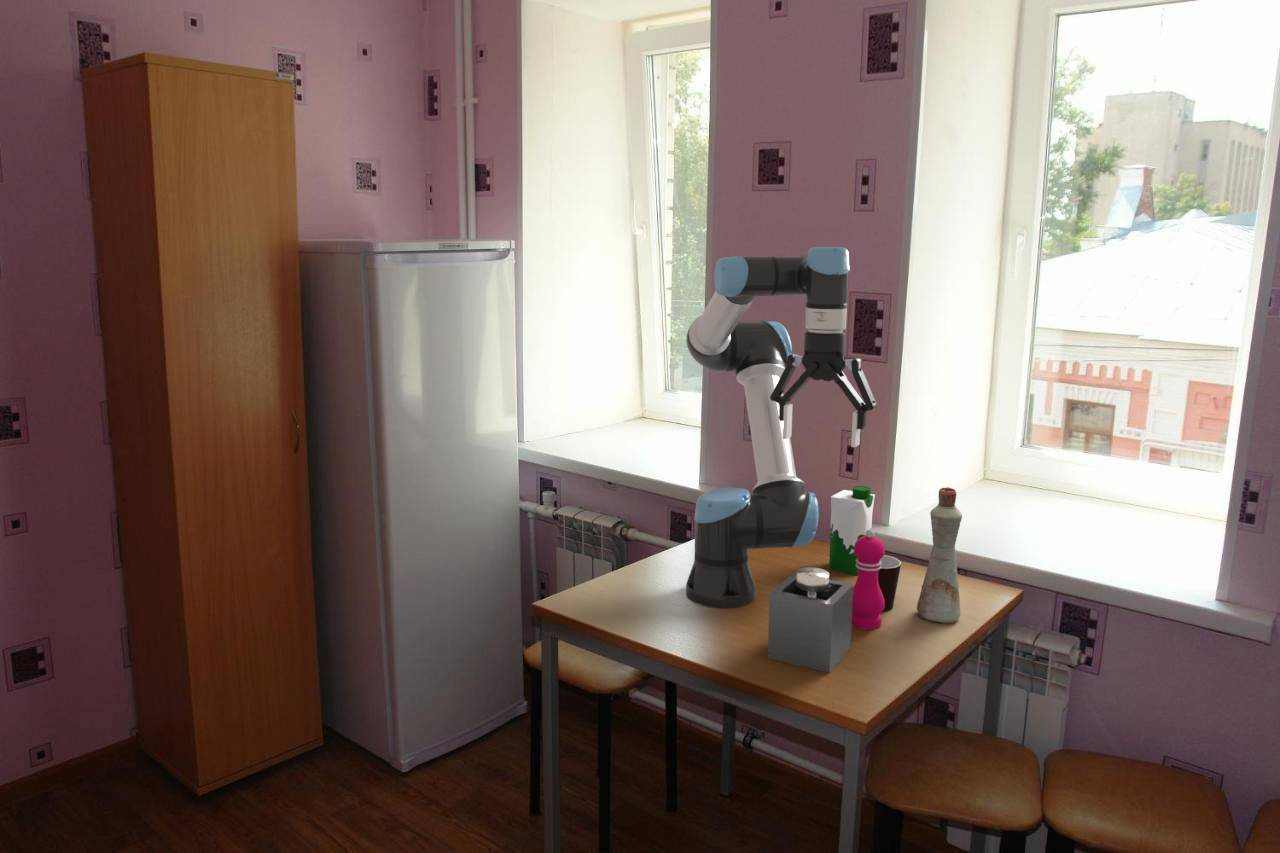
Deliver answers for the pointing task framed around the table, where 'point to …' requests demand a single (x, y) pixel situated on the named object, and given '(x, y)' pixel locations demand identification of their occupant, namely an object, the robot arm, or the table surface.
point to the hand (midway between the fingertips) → (820, 441)
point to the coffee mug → (889, 579)
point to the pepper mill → (868, 583)
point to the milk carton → (849, 526)
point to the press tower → (810, 624)
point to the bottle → (942, 563)
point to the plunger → (812, 580)
